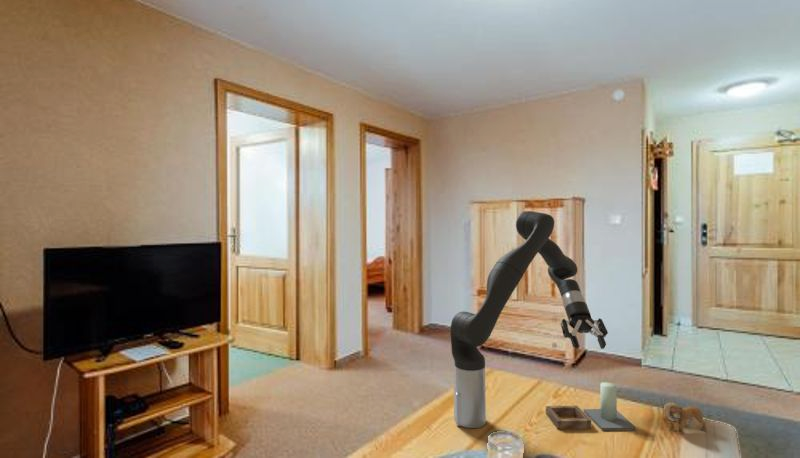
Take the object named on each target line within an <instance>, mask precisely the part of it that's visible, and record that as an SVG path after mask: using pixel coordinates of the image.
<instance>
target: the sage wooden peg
mask: <svg viewBox="0 0 800 458" xmlns="http://www.w3.org/2000/svg"><path fill="white" fill-rule="evenodd" d="M599 390H600V409H601V418H602V419H604V420H607V421H616V420H617V411H618V409H617V408H618V407H617V406H618V404H617V403H618V402H617V401H618V400H617V399H618V398H617V397H618V396H617V394H618V393H617V392H618V391H617V390H618V389H617V385H616V384H615V383H612V382H604V381H603V382H601V383H600V389H599Z"/></svg>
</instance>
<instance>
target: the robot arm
mask: <svg viewBox="0 0 800 458" xmlns="http://www.w3.org/2000/svg"><path fill="white" fill-rule="evenodd" d="M515 227H516V232H517V233H518V234H519V236H520V237H521V238H522V239H524V240H525V241H524V242H523V243H521V244H520V245H519V246H517V247H515V248H514V249H511V250H510V251H508V252H507V253H504V255H503V256H500V257H499V259H498V260H497V261H496V262H495V264H494V266H493V267H492V269H491V270H490V272H489V274H488V276H487V278H486V279H487V281H486V295H485V299H484V301H483V303H482V305H481V307H480V308H479V309H478V311H476V313H474V312H473V313H472V312H469V311H458V312H457V313H456V314H455V315H453V316H454V317H452V319H451V324H450V345H451V346H450V347H451V355H452V358H453V361H454V387H453V418H454V421H455V424H456V427H463V428H467V429H479V428H482V427H484V426H485V424H487V418H486V417H487V414H486V411H487V410H486V409H487V408H486V405H487V404H486V403H487V402H486V398H487V397H486V358H485V356H484V354H482V352H481V351H480V350H479V349H478V348H479V347H481V346H483V345H484V344H485V343H486V342H487V341H488V339H489V338H490V337H491V334H492V332H493V330H494V328H495V326H496V324H497V321H498V320H499V318H500V316H501V314H502V312H503V310H504V308H505V306H506V305H507V303H508V301H509V299H510V298H511V296H512V294H513V293H514V292H515V290H516V288H517V286H518V285H519V284H520V282H521V280H522V279H523V276H524V275H525V273H526V271H527V269H528V268H529V267H530V264H531V263H532V262H533V260H534V258H535V257H536V255H538V254H539V255H540V256H541V257H542V259H543V260H544V262H545V264H546V265H547V266H548V268H547V273H548V276H549V277H550V279H551V280H552V281H553V283H554V284H555V285H556V286H557V288H558V291H559V293H560V296H561V300H562V304H563V308H564V310H565V313H566V316H567V319H568V320H567V319H565V318H563V319H562V320H561V322H560V328H561V332H562V335H563V338H564V339H567V338H568V339H570V342H571V344H572V347H573V348H574V349H575V350H579V348H580V342H579V340H578V338H577V336H576V334H577V333H579V334H583V333H585V334H590V335H592V336H594V337H595V338H597V340H596V341H597V342H598V344H599V348H600V349H601V350H602V349H603V350H604V349H605V347H606V345H607V342H606V340H605V338H606V336H608V334H609V332H608V329H607V328H606V326H605V323H604V321H603V319H601V318H597V319H593V318H592V316H591V312H590V309H589V307H588V305H587V302H586V300H585V299H586V298H585V297H584V295H583V294H582V291H581V288H580V285H579V283H578V281H576V280H575V279H574V278H573V277H575V276H576V275H577V274H578V266H577V263H576V262H575V261H574V260H573V259H572V258H570V257H569V256H567V255H566V254H565V253H564V252H563V251H562V249H561V248H560V246H559V245H558V244H557V243H556V242H555V241H553V240H552V239H550V237H551V235H552V233H553V231H554V228H555V219H554V217H553V216H552V215H550V214H548V213H545V212H537V211H531V210H525V211H522V212H521V213H520V214H519V215H518V216H517V219H516V221H515ZM572 278H573V279H572ZM568 326H570V327H571V328H572V329H573V330H572V331H571V332H570V331H569V327H568Z"/></svg>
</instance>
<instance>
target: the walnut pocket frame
mask: <svg viewBox="0 0 800 458" xmlns="http://www.w3.org/2000/svg"><path fill="white" fill-rule="evenodd" d="M545 415H546V416H547V417H548V418H549V420H550V422H552V424H553V425H554V426H555V427H556V430H557V431H559V430H563V431H564V430H592V420H591V419H590V418H589V417H588V416H587V415H586V414H585V413H584V410H582V409H581V408H580V407H579V406H578V405H545ZM559 416H575V417H576V418H560V417H559Z"/></svg>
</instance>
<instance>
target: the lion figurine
mask: <svg viewBox="0 0 800 458" xmlns="http://www.w3.org/2000/svg"><path fill="white" fill-rule="evenodd" d="M663 413H664V417H665V418H666V420H667V421H668V422H669V425H670V427H668V431H671V432H672V431H674V429H675V424H677V425H678V432H677V434H678V435H682V436H683V435H684V430H683V429H684V427H686V428H690V427H691V426H692V425H693V423H694V420H693V419H695V420H696V421H697V422H698V423H699V424H700V425H702V427H700V430H701V431H703V432H706V431H707V426H706V422H705V421H704V417H703V413H702V411H701V409H700V408H699V407H698V406H695V405H688V406H686V407H681V406H680V405H678V404H676V403H675V402H672V401H671V402H667V403H665V405H664V406H663ZM687 421H688V422H687ZM684 422H687V423H685V424H684Z"/></svg>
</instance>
